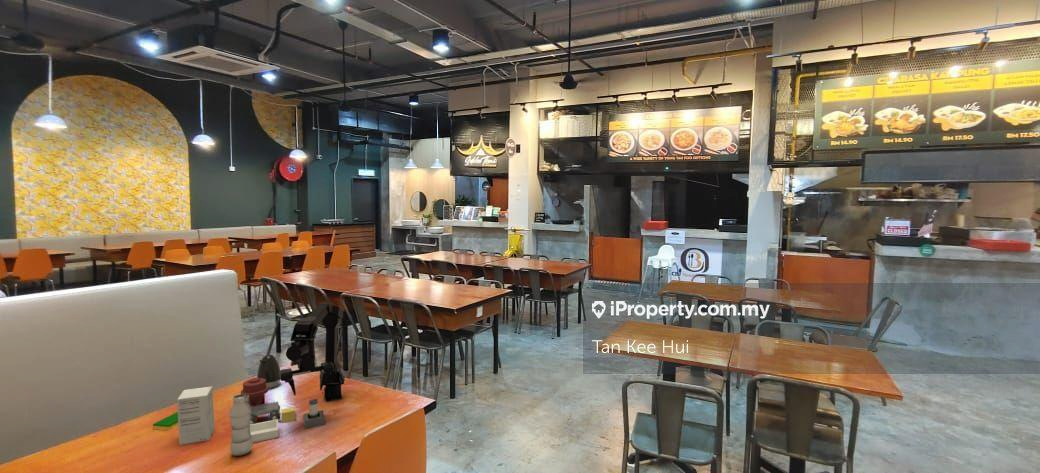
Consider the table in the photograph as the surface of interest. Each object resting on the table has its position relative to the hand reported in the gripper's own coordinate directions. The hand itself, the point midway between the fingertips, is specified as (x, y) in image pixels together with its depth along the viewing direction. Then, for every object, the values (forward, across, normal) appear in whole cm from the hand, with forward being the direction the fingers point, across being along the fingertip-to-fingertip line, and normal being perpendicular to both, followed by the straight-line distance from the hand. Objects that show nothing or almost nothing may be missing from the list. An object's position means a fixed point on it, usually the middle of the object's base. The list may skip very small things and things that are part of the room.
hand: (307, 392), depth 181 cm
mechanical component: (+12, +16, -27) cm, 34 cm away
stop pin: (+12, -2, +1) cm, 12 cm away
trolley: (+12, +15, -13) cm, 23 cm away
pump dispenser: (+12, +9, -50) cm, 53 cm away
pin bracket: (+12, -2, +1) cm, 12 cm away
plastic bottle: (+12, +23, +12) cm, 29 cm away
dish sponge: (+13, +43, -30) cm, 54 cm away
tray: (+12, +16, +1) cm, 20 cm away
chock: (+12, +6, -8) cm, 16 cm away
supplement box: (+12, +36, -11) cm, 39 cm away
